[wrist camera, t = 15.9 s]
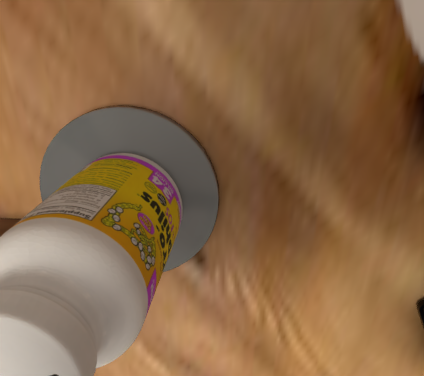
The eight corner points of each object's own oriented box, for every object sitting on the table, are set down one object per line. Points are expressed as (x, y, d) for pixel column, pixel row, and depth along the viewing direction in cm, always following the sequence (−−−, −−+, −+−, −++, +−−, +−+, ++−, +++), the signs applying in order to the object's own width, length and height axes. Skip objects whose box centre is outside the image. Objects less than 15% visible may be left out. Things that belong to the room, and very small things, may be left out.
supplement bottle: (188, 249, 24) (127, 458, 13) (87, 247, 25) (-59, 443, 13) (181, 147, 22) (96, 291, 10) (68, 148, 23) (-133, 283, 11)
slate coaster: (246, 237, 25) (246, 243, 24) (102, 287, 27) (98, 294, 27) (168, 73, 21) (165, 75, 20) (12, 149, 24) (4, 152, 23)
